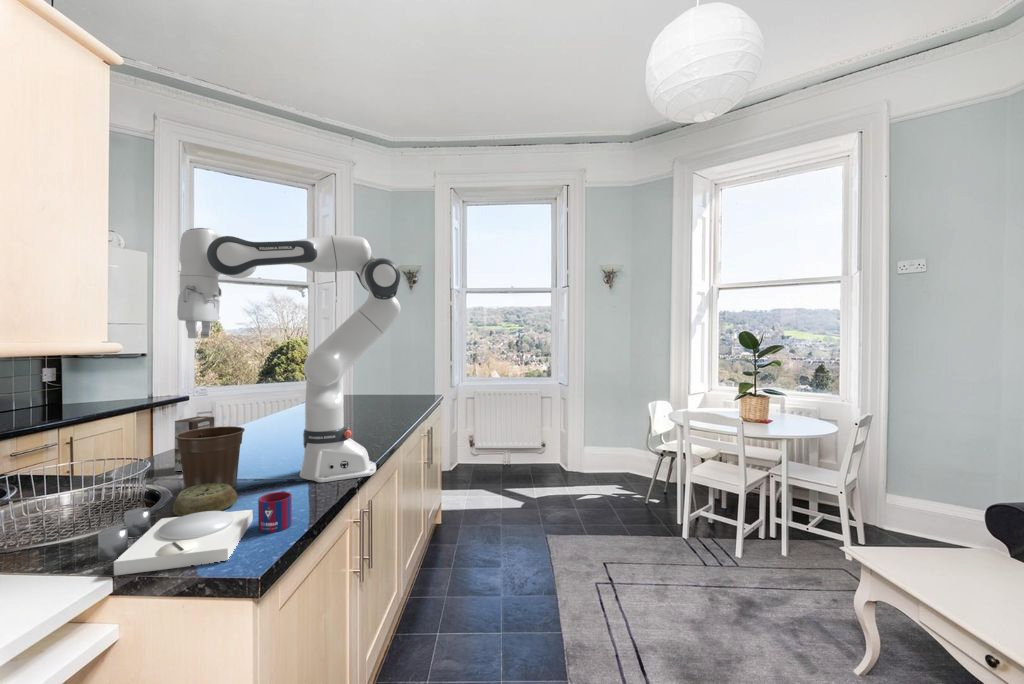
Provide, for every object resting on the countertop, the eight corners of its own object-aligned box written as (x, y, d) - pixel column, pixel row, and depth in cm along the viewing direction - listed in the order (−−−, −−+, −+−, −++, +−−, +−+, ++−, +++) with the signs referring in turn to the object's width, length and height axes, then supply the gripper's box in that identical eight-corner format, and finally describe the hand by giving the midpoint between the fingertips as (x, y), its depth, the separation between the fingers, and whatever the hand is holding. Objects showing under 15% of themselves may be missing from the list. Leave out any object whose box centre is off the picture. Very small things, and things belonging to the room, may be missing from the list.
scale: (252, 520, 107) (252, 506, 107) (226, 562, 87) (226, 545, 87) (161, 529, 101) (161, 514, 101) (112, 577, 82) (112, 558, 82)
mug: (252, 533, 100) (252, 502, 100) (273, 515, 110) (273, 487, 110) (284, 532, 100) (284, 502, 100) (302, 514, 110) (302, 486, 110)
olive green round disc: (200, 522, 106) (200, 501, 106) (158, 515, 110) (158, 494, 110) (249, 501, 119) (249, 482, 119) (210, 496, 123) (210, 477, 123)
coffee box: (192, 473, 141) (191, 421, 141) (173, 472, 142) (173, 421, 142) (215, 464, 150) (215, 416, 150) (197, 463, 151) (197, 415, 151)
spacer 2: (154, 528, 102) (154, 506, 102) (145, 537, 98) (144, 514, 98) (130, 531, 101) (130, 508, 101) (120, 539, 96) (120, 516, 96)
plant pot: (188, 482, 133) (187, 427, 133) (250, 477, 138) (250, 424, 138) (165, 502, 117) (164, 440, 117) (236, 495, 123) (236, 436, 122)
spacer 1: (132, 549, 92) (132, 524, 92) (121, 559, 88) (120, 533, 88) (105, 552, 91) (105, 527, 91) (93, 562, 87) (92, 536, 87)
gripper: (198, 284, 116) (198, 338, 117) (223, 291, 136) (223, 337, 136) (169, 283, 115) (169, 338, 115) (199, 290, 134) (199, 337, 134)
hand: (199, 338), depth 126 cm, fingers open, 8 cm apart
